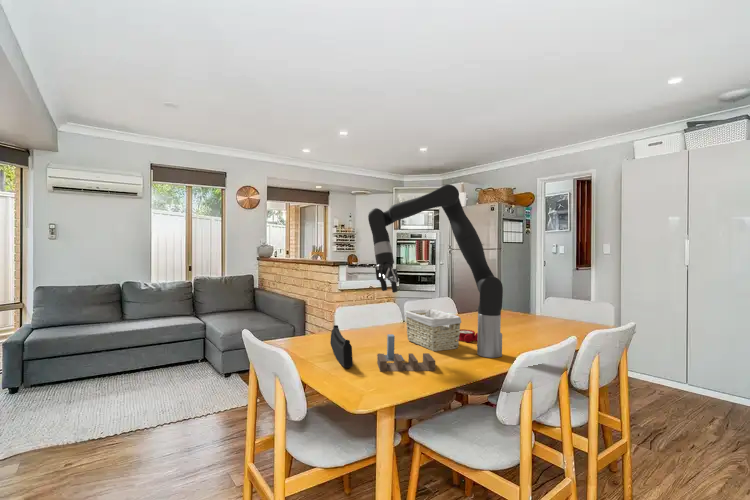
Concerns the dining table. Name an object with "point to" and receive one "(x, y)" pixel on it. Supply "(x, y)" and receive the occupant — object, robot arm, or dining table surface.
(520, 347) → the dining table surface
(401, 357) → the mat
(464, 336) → the alarm clock
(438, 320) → the storage basket
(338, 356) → the magazine
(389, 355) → the tile
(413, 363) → the rack
